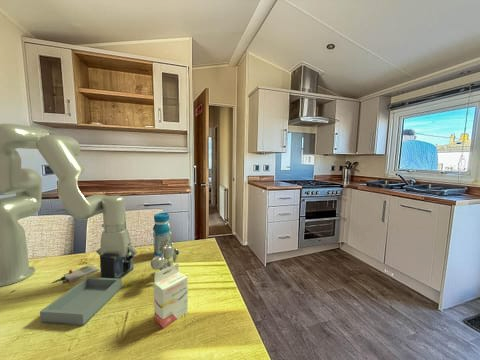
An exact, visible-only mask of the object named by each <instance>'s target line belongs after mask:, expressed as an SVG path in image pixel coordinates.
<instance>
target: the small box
mask: <svg viewBox="0 0 480 360" xmlns="http://www.w3.org/2000/svg"><path fill="white" fill-rule="evenodd" d="M131 247H132V248H133V246H132V245H131ZM129 254H130V255H131V252H130V253H129ZM126 257H127V256H126ZM123 263H124V260H123V258H119V255H118V254H107V253H104V254H102V255H99V264H100V265H99V266H100V278H115V279H121V280H122V278H123V277H125V276H126V275H128V274H129V273H130V272H131V271H133V270H134V257H133V258H132V259H131V260H130V269H129V270H128V271H127V272H124V267H123Z"/></svg>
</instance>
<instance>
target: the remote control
mask: <svg viewBox="0 0 480 360" xmlns="http://www.w3.org/2000/svg"><path fill="white" fill-rule="evenodd" d="M99 271H100V272H101V269H99V268H98V267H96V266H95V265H92V264H91V265H85V266H82V267H81V268H78V269H75V270H72V269H70V270H69V271H68V273H65V274H63V276H62V277H60V278H59V279H55V280H53V281H52V283H53V284H54V283H57V282H59V281H62V284H64V283H75V282H76V281H78V280H80V279H83V278H85V277H86V278H87V277H89V276H91V275H93V274H96V273H97V272H99ZM52 283H51V284H52Z"/></svg>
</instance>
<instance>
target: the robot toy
mask: <svg viewBox="0 0 480 360" xmlns="http://www.w3.org/2000/svg"><path fill="white" fill-rule="evenodd" d="M159 251H161V255H162V257H161V256H156V257H155V256H154V257H153V258H152V259H151V260H150V267H151V268H152V269H153V270H159V271H161V270H163V269H165V268H168V267H170V266H173V265H174V264H173V262H174V263H175V264H176V262H177V259H178V255H180V249H179V248H175V247H174V243H173V241H172V240H171V241H169V242H168V239H167V238H166V239H163V241H160V243H159ZM171 258H172V261H173V262H172V261H171V260H170V259H171ZM169 272H171V270H169V271H168V270H167V271H166V272H165V273H163V275H164V274H166V273H169Z"/></svg>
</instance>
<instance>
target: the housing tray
mask: <svg viewBox="0 0 480 360" xmlns="http://www.w3.org/2000/svg"><path fill="white" fill-rule="evenodd" d="M122 288H123V283H122V278H121V279H115V278H101V277H95V276H94V277H93V276H86V278H84V279H83V280H81V281H80V282H78V283H77V284H76V285H75V286H73V287H71V288H70V289H69V290H68V291H66V292H65V293H63V294H62V295H61V296H59V297H57V298H56V299H55V300H53V302H51V303H49V304H48V305H47V306H46V307H44V308H42V309H41V310H40V311H39V315H40V323H41V324H42V323H43V324H54V325H71V326H82V327H84V326H85V325H86V324H87V323H88V322H90V320H91V319H92V318H93V317H94V316H95V315H96V314H97V313H99V311H100V310H101V309H102V308H103V307H104V306H105V305H106V304H107V303H108V302H109V301H110V300H111V299H113V298H114V297H115V295H117V293H118V292H119V291H120V290H121V289H122Z"/></svg>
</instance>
